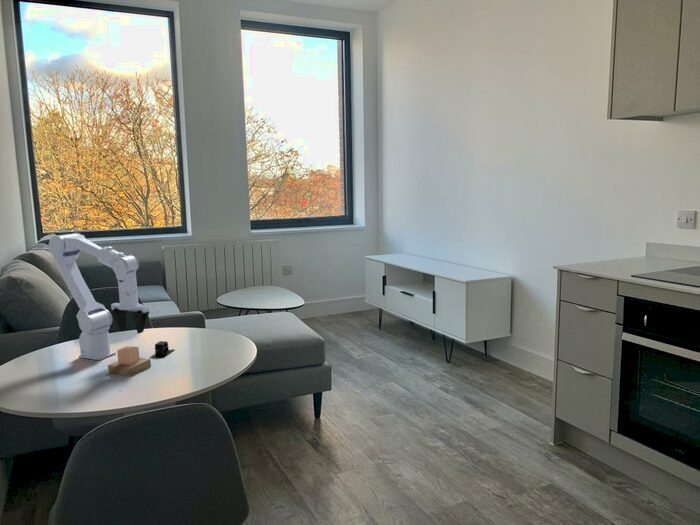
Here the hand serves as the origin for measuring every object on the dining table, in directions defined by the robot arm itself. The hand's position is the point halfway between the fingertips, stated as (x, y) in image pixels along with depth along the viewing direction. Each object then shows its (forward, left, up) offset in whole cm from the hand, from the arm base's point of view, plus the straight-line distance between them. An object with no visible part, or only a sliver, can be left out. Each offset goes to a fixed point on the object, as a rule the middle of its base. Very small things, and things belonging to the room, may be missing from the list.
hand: (131, 331), depth 182 cm
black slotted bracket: (+5, +8, -11) cm, 14 cm away
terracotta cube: (+6, -8, -7) cm, 13 cm away
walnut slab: (+6, -8, -10) cm, 14 cm away
